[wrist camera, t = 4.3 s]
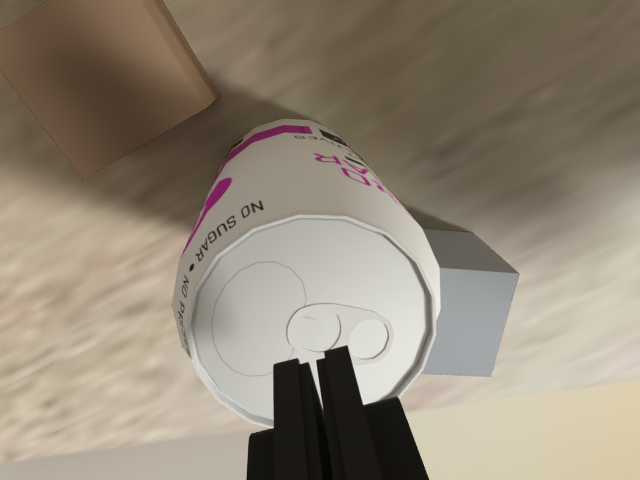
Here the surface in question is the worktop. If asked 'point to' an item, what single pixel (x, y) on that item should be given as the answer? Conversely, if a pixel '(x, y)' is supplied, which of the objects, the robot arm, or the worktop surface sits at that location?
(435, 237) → the slate grey block
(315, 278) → the supplement can
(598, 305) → the worktop surface
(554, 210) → the worktop surface
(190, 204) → the worktop surface
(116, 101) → the walnut block
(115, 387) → the worktop surface
